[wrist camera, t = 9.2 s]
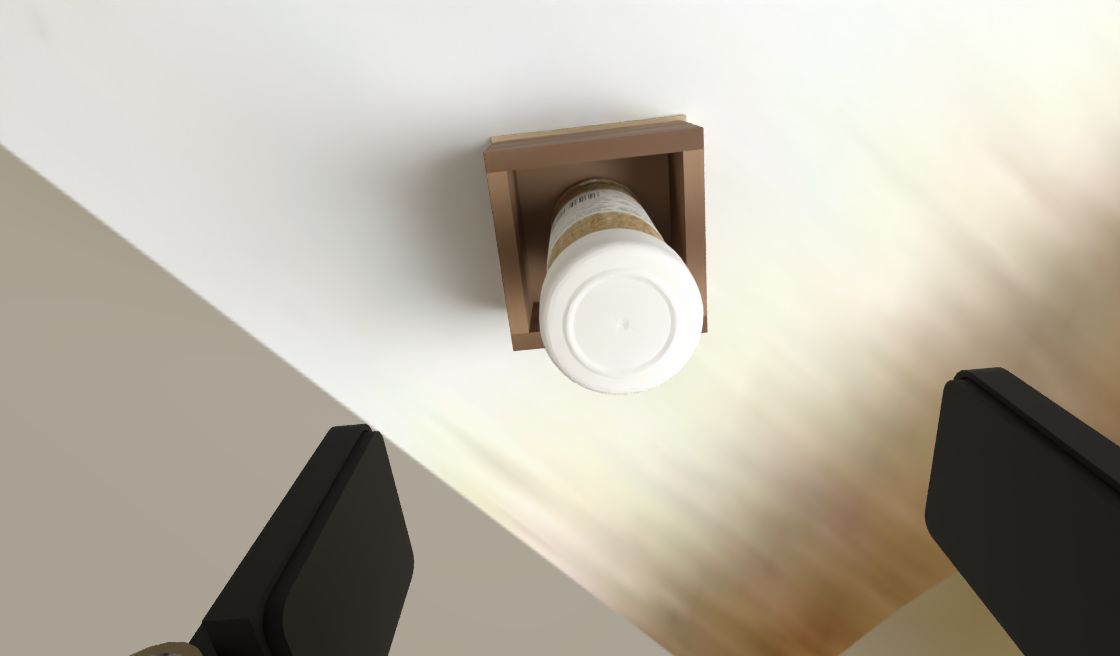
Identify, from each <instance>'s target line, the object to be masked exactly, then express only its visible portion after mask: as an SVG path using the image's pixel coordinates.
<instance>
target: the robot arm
mask: <svg viewBox="0 0 1120 656" xmlns="http://www.w3.org/2000/svg"><path fill="white" fill-rule="evenodd" d="M925 522H926V525H927V528H928V531H929V533H930V535H931V536H932V538H933V539H934V540H935V542H936V543H937V544H938V545H939V547H940V548H941V549H942V551H943V552H944V553H945V554H946V556H947V557H948V558H949V559H950V561H951V562H952V563H953V565H954V566H955V567H956V568H957V570H958V571H959V572H960V574H961V575H962V576H963V577H964V578H965V580H966V581H967V582H968V584H969V585H970V586H971V588H972V589H973V590H974V591H975V592H976V594H977V595H978V597H979V598H980V599H981V600H982V602H983V603H984V604H985V605H986V607H987V608H988V609H989V611H990V612H991V613H992V614H993V616H994V617H995V618H996V619H997V621H998V622H999V623H1000V625H1001V626H1002V627H1003V628H1004V630H1005V631H1006V632H1007V634H1008V635H1009V636H1010V637H1011V639H1012V640H1013V641H1014V643H1015V644H1016V645H1017V646H1018V648H1019V649H1020V650H1021V651H1022V653H1023V654H1024V655H1025V656H1120V447H1119V446H1118V445H1116V444H1115V443H1113V442H1112V441H1110V440H1109V439H1107V438H1106V437H1104V436H1103V435H1101V434H1100V433H1099V432H1097V431H1096V430H1094V429H1093V428H1091V427H1090V426H1088V425H1087V424H1085V423H1084V422H1082V421H1081V420H1079V419H1078V418H1076V417H1075V416H1074V415H1072V414H1071V413H1069V412H1068V411H1066V410H1065V409H1063V408H1062V407H1060V406H1059V405H1057V404H1056V403H1054V402H1053V401H1051V400H1050V399H1049V398H1047V397H1046V396H1044V395H1043V394H1041V393H1040V392H1038V391H1037V390H1035V389H1034V388H1032V387H1031V386H1029V385H1028V384H1026V383H1025V382H1024V381H1022V380H1021V379H1019V378H1018V377H1016V376H1015V375H1013V374H1012V373H1010V372H1009V371H1007V370H1006V369H1003V368H1001V367H995V368H984V369H972V370H961V371H960V372H958V373H957V374H956V376H955V377H954V380H950V381H948V382H947V383H946V385H945V387H944V390H943V397H942V403H941V410H940V417H939V423H938V430H937V436H936V443H935V449H934V456H933V462H932V469H931V475H930V482H929V489H928V495H927V502H926V508H925ZM413 569H414V556H413V551H412V547H411V543H410V539H409V535H408V531H407V528H406V524H405V520H404V516H403V512H402V509H401V505H400V501H399V497H398V493H397V489H396V486H395V482H394V478H393V474H392V470H391V466H390V463H389V459H388V455H387V451H386V447H385V443H384V440H383V437H382V435H381V433H380V432H379V431H374V432H372V430H371V428H370V427H369V425H367V424H357V425H347V426H335V427H332V428H331V429H330V430H329V431H328V433H327V434H326V436H325V437H324V439H323V440H322V442H321V443H320V445H319V446H318V448H317V449H316V451H315V452H314V454H313V455H312V457H311V458H310V460H309V461H308V463H307V464H306V466H305V467H304V469H303V470H302V472H301V473H300V475H299V476H298V478H297V479H296V481H295V482H294V484H293V485H292V487H291V489H290V490H289V491H288V493H287V494H286V496H285V497H284V499H283V500H282V502H281V503H280V505H279V506H278V508H277V509H276V511H275V512H274V514H273V515H272V517H271V518H270V520H269V521H268V523H267V524H266V526H265V527H264V529H263V530H262V532H261V533H260V535H259V536H258V538H257V539H256V541H255V542H254V544H253V545H252V547H251V548H250V550H249V551H248V553H247V554H246V556H245V557H244V559H243V560H242V562H241V563H240V565H239V566H238V568H237V569H236V571H235V572H234V574H233V575H232V577H231V578H230V580H229V581H228V583H227V584H226V586H225V587H224V589H223V590H222V592H221V593H220V595H219V596H218V598H217V599H216V601H215V602H214V604H213V605H212V607H211V608H210V610H209V611H208V613H207V614H206V616H205V617H204V619H203V620H202V624H201V626H200V627H199V628H198V630H197V632H196V633H195V635H194V636H193V637H192V639H191V641H190V642H189V643H186V642H167V643H163V644H159V645H155V646H151V647H148V648H146V649H143V650H141V651H139V652H137V653H134V654H132V655H130V656H388V653H389V650H390V647H391V643H392V640H393V637H394V634H395V631H396V627H397V624H398V621H399V618H400V614H401V611H402V608H403V605H404V602H405V598H406V595H407V592H408V589H409V585H410V582H411V579H412V575H413Z"/></svg>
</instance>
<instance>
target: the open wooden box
mask: <svg viewBox="0 0 1120 656" xmlns="http://www.w3.org/2000/svg"><path fill="white" fill-rule="evenodd" d="M491 140H492V146H490V147H489V148H488V149H487V150H486V151H485V152H483V154H484V160H485V167H486V173H487V180H488V187H489V193H490V200H491V206H492V213H493V220H494V226H495V233H496V239H497V246H498V253H499V259H500V266H501V272H502V279H503V286H504V292H505V299H506V305H507V312H508V319H509V325H510V332H511V338H512V345H513V351H519V350H529V349H540V348H545V346H544V344H543V341H542V337H541V333H540V324H539V309H540V296H541V290H542V286H543V283H544V280H545V277H546V275H547V258H548V249H549V242H550V234H551V218H552V215H553V212H554V209H555V206H556V204H557V202H558V201H559V199H560V198H561V197H562V195H563V194H564V193H565V192H566V191H567V190H568V189H569V188H571V187H573V186H574V185H576V184H577V183H579V182H583V181H584V180H587V179H592V178H607V179H612V180H615V181H617V182H619V183H622V184H624V185H626V186H627V187H628V188H630V190H632V191H633V192H634V193H635V194H636V196H637V197H638V198H639V200H640V202H641V205H642V208H643V209H644V210H645V212H646V213H647V215H648V216H649V218H650V220H651V221H652V223H653V224H654V226H655V228H656V229H657V231H658V232H659V234H660V235H661V237H662V238H663V240H664V242H665V243H666V244H667V245H668V246H669V247H671V248H672V249H673V250H674V251H675V252H676V253H677V254H678V255H679V256H680V258H681V259H682V261H683V262H684V264H685V265H686V266H687V268H688V269H689V271H690V273H691V275H692V276H693V278H694V280H695V282H696V284H697V287H698V289H699V292H700V295H701V299H702V304H703V325H702V331H701V333H705V332H707V289H706V238H705V188H704V138H703V127H700V126H697V125H694V124H691V123H688V122H686V115H680V116H672V117H663V118H654V119H645V120H637V121H628V122H619V123H610V124H602V125H593V126H584V127H575V128H567V129H558V130H549V131H540V132H532V133H523V134H514V135H505V136H497V137H491Z"/></svg>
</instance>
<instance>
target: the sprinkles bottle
mask: <svg viewBox="0 0 1120 656" xmlns="http://www.w3.org/2000/svg"><path fill="white" fill-rule="evenodd" d="M539 324H540V333H541V337H542V341H543V344H544V346H545V349H546V351H547V353H548V355H549V357H550V358H551V360H552V361H553V363H554V364H555V365H556V366H557V368H558V369H559V370H560V371H561V372H562V373H563V374H564V375H565V376H567V377H568V378H569V379H570V380H572V381H573V382H575V383H577V384H579V385H580V386H582V387H584V388H587V389H589V390H592V391H596V392H600V393H604V394H613V395H627V394H634V393H639V392H642V391H645V390H649V389H651V388H653V387H656V386H658V385H660V384H662V383H663V382H665V381H667V380H668V379H670V378H671V377H672V376H674V375H675V374H676V373H677V372H678V371H679V370H680V369H681V368H682V367H683V366H684V365H685V364H686V362H687V361H688V360H689V358H690V357H691V355H692V354H693V352H694V350H695V348H696V346H697V344H698V341H699V338H700V335H701V331H702V325H703V304H702V299H701V295H700V292H699V289H698V287H697V284H696V282H695V280H694V278H693V276H692V275H691V273H690V271H689V269H688V268H687V266H686V265H685V264H684V262H683V261H682V259H681V258H680V256H679V255H678V254H677V253H676V252H675V251H674V250H673V249H672V248H671V247H669V246H668V245H667V244H666V243H665V242H664V240H663V238H662V237H661V235H660V234H659V232H658V231H657V229H656V228H655V226H654V224H653V223H652V221H651V220H650V218H649V216H648V215H647V213H646V212H645V210H644V209H643V208H642V205H641V202H640V200H639V198H638V197H637V196H636V194H635V193H634V192H633V191H632V190H630V188H628V187H627V186H626V185H624V184H622V183H619V182H617V181H615V180H612V179H607V178H592V179H587V180H584V181H583V182H579V183H577V184H576V185H574V186H573V187H571V188H569V189H568V190H567V191H566V192H565V193H564V194H563V195H562V197H561V198H560V199H559V201H558V202H557V204H556V206H555V209H554V212H553V215H552V218H551V234H550V242H549V249H548V258H547V275H546V277H545V280H544V283H543V286H542V290H541V296H540V309H539Z"/></svg>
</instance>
